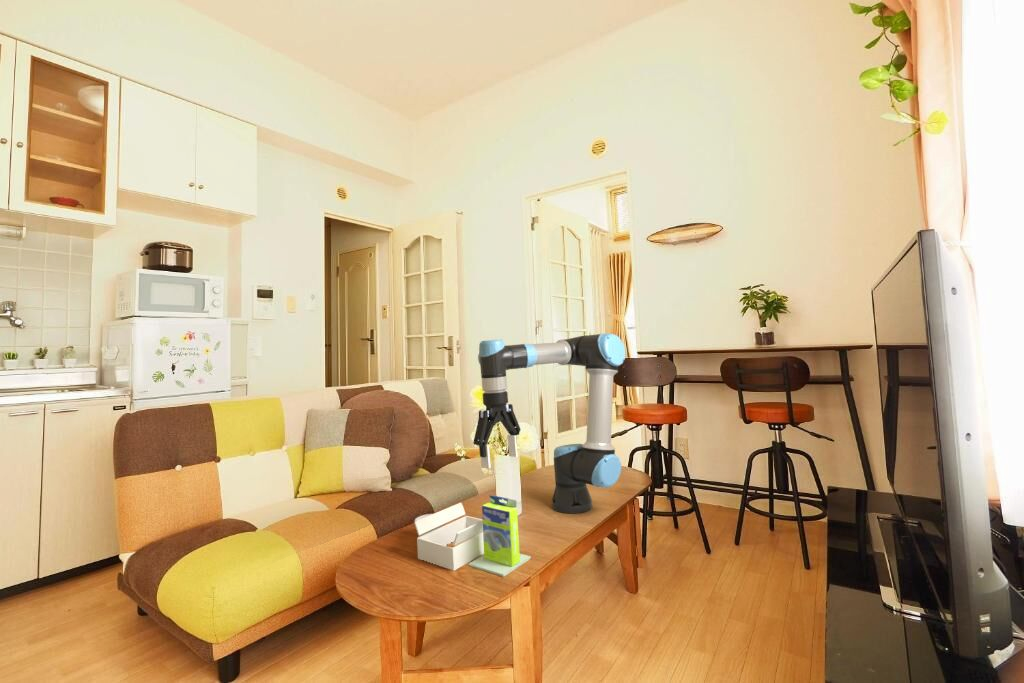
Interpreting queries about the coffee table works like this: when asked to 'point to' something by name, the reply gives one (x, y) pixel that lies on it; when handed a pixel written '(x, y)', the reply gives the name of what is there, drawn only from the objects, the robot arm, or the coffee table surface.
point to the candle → (422, 518)
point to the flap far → (439, 518)
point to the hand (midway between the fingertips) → (500, 462)
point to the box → (501, 531)
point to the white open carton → (436, 541)
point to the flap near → (468, 532)
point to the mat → (497, 565)
